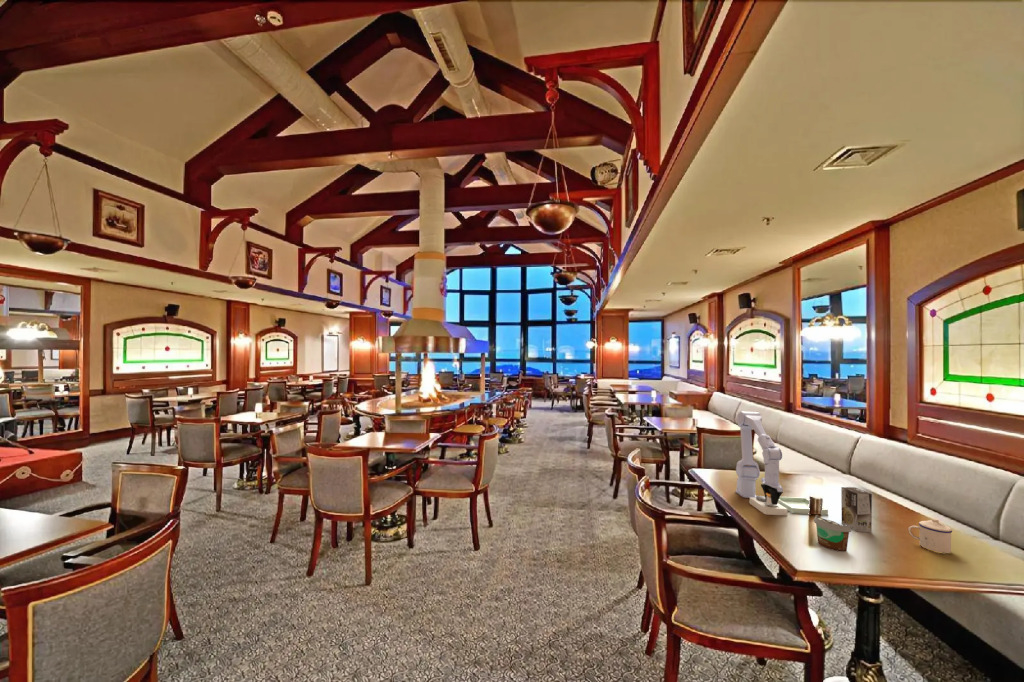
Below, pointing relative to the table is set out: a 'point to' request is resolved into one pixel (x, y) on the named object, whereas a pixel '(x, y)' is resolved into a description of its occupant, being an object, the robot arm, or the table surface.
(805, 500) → the tray
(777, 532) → the table surface
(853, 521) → the coffee box
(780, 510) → the plate
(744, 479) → the robot arm
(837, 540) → the food container
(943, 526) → the teacup with lid
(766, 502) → the jar
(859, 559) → the table surface
